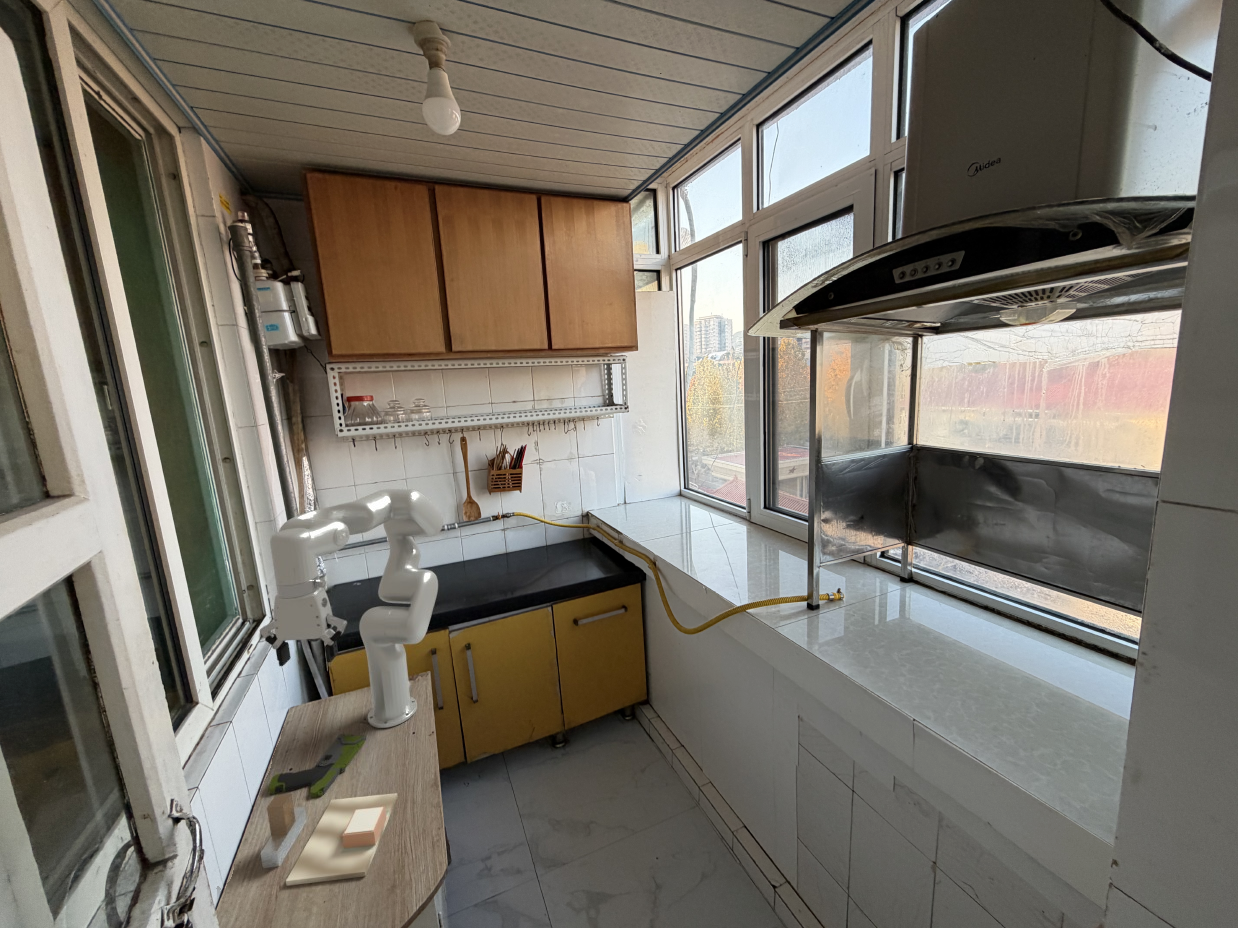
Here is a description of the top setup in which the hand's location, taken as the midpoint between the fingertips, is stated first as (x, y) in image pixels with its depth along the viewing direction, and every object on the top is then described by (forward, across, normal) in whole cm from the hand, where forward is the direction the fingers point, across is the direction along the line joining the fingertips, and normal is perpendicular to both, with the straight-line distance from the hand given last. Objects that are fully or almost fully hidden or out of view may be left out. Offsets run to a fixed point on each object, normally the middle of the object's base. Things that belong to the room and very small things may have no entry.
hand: (308, 660), depth 107 cm
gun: (+33, +5, -8) cm, 34 cm away
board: (+32, -10, +13) cm, 36 cm away
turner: (+32, +2, +13) cm, 35 cm away
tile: (+31, -14, +14) cm, 37 cm away
